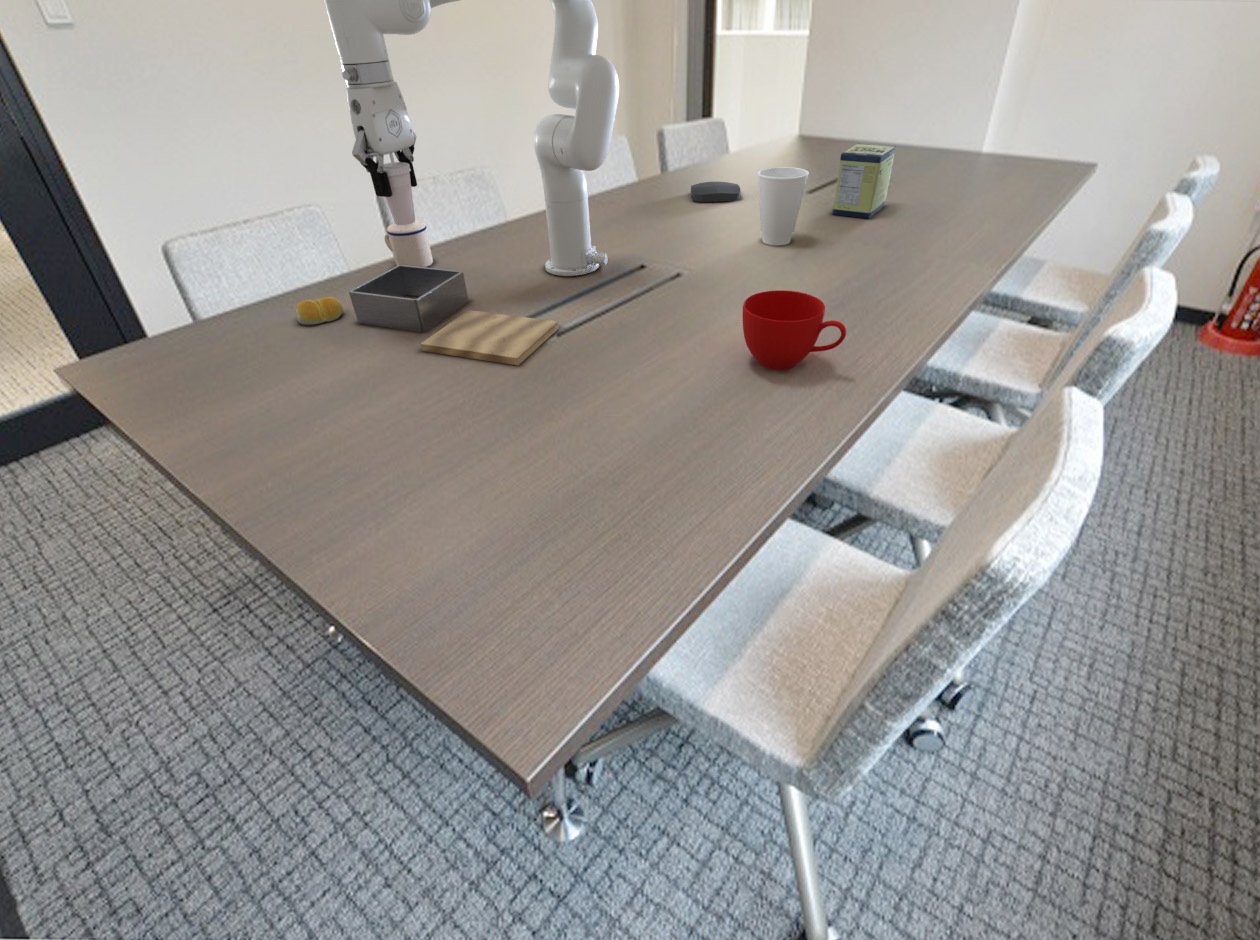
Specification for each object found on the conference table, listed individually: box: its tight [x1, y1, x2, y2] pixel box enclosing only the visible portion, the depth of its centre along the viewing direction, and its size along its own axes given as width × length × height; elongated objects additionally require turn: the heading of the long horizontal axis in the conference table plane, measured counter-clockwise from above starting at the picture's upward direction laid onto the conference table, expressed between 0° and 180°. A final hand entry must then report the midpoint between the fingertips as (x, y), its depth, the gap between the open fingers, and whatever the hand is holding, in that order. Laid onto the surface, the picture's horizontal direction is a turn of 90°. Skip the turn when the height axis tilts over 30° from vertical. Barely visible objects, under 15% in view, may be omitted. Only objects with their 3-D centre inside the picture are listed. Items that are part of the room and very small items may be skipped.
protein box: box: [832, 143, 896, 220], centre depth 175 cm, size 10×16×16 cm
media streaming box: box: [690, 181, 742, 203], centre depth 196 cm, size 15×15×3 cm
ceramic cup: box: [742, 289, 847, 371], centre depth 105 cm, size 13×17×10 cm
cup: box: [757, 166, 810, 246], centre depth 155 cm, size 12×12×16 cm
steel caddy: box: [348, 265, 470, 333], centre depth 130 cm, size 16×16×6 cm
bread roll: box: [294, 296, 344, 326], centre depth 130 cm, size 8×9×4 cm
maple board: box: [420, 309, 560, 366], centre depth 119 cm, size 20×16×2 cm
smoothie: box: [383, 153, 416, 225], centre depth 115 cm, size 6×6×14 cm
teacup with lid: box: [383, 219, 434, 268], centre depth 153 cm, size 12×9×12 cm
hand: (397, 190), depth 116 cm, fingers closed on smoothie, 6 cm apart
